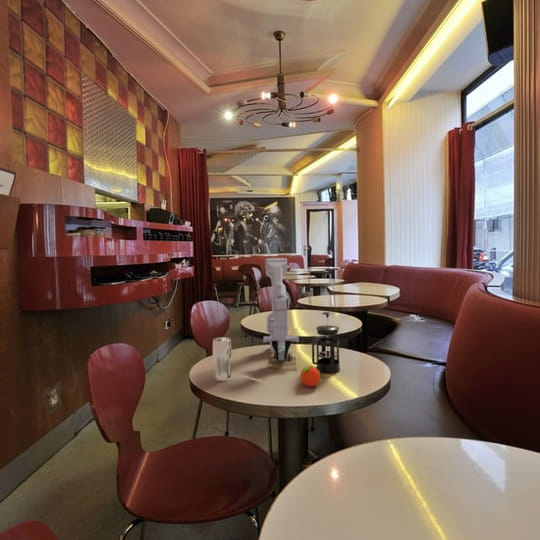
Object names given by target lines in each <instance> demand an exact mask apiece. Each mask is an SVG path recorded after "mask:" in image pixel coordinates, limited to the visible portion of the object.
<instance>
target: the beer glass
mask: <svg viewBox="0 0 540 540" xmlns="http://www.w3.org/2000/svg"><path fill="white" fill-rule="evenodd" d="M212 357H213V361H214V366H215V373H214V380H215V381H217V382H227V381H230V380H231V379H232V374H231V370H230V369H231V361H232V360H231V359H232V340H231V338H230V337H225V336H223V337H216V338H213V340H212Z"/></svg>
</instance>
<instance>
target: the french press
mask: <svg viewBox="0 0 540 540" xmlns="http://www.w3.org/2000/svg"><path fill="white" fill-rule="evenodd" d="M321 314H322V315H325V316H326V325H319V326H316V330H317V331H316V332H317V334H318V335H320V336H323V337H318V338H317V339H316V340H315V341H312V342H311V363H312V364H313V365H316V369H317V370H318V371H319V373H321V374H328V375H329V374H337V373H339V372H340V371H341V367H340V339H339V338H336V337H333V336H337V335H338V333H339V330H340V327H339V326H336V325H329V315H333V314H334V313H333V312H331V311H324V312H322V313H321ZM326 341H327V342H326ZM330 341H331V342H330ZM315 344H316V361H315ZM320 346H321V351H319V347H320ZM335 346H336V351H335ZM326 349H327V350H326Z"/></svg>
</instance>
